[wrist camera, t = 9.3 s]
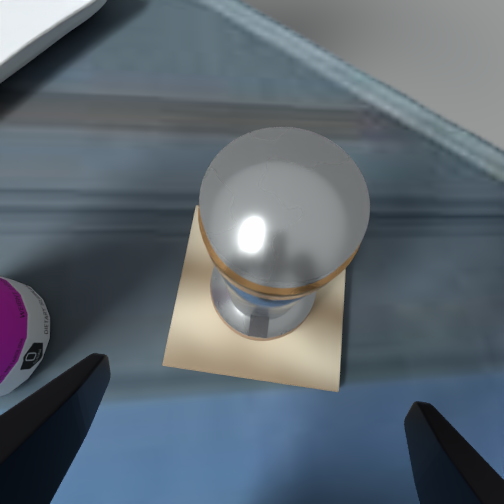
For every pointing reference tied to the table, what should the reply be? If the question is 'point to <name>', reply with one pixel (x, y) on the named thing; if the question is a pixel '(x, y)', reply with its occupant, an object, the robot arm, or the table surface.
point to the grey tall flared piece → (279, 225)
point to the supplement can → (20, 333)
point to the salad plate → (37, 28)
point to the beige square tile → (249, 348)
